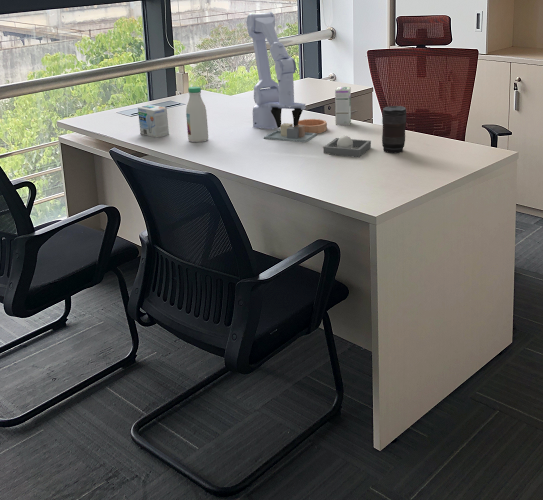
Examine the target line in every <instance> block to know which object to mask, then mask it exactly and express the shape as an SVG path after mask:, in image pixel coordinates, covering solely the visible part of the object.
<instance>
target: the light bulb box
mask: <svg viewBox="0 0 543 500" xmlns="http://www.w3.org/2000/svg"><path fill="white" fill-rule="evenodd" d="M137 114H138V123H139V124H138V125H139V133H140V135H141V134H142V135H145V136H148V137H152V138H160V137H161V138H162V137H164V136H169V135H170V130H169V120H168V118H169V117H168V109H167V107H164V106H158V105H154V104H147V105H144V106H138V107H137Z"/></svg>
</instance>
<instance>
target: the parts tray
mask: <svg viewBox="0 0 543 500" xmlns="http://www.w3.org/2000/svg"><path fill="white" fill-rule="evenodd" d="M316 136H317V133H307V132H305V136H304V137H299V138H298V139H292V138H287V136H281V129H280V130H279V129H275V130H273V131H272V132H269V133H268V134H266V135H264V136H263V139H264V140H274V141H275V140H276V141H286V142H297V143H298V142H301V143H306V142H308V141H310V140H312V138H315V137H316Z"/></svg>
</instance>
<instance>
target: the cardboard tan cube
mask: <svg viewBox="0 0 543 500" xmlns="http://www.w3.org/2000/svg"><path fill="white" fill-rule="evenodd" d="M293 127H299V137H304V136H305V125H297V126H294V125H293Z"/></svg>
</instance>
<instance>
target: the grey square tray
mask: <svg viewBox="0 0 543 500" xmlns="http://www.w3.org/2000/svg"><path fill="white" fill-rule="evenodd" d="M339 138H340V137H335V138H334V139H332V140H331V141H330V142H329V143H327V144H325V145H324V146H323V154H328V155H329V156H340V157H349V158H350V157H351V158H361V157H362V156H363V155H364V154H365V153H366V152H368V151H369V150H370V149H371V147H372V140H366V139H355V138H354V139H353V138H351V139H352V141H353V146H352V148H340V147H337V141H338V139H339Z"/></svg>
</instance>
